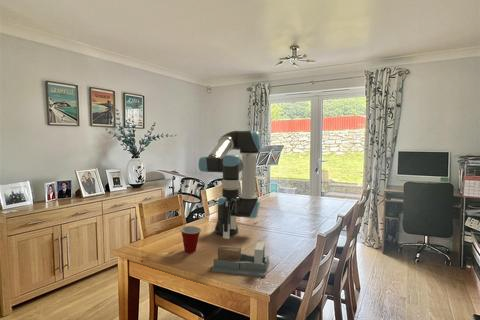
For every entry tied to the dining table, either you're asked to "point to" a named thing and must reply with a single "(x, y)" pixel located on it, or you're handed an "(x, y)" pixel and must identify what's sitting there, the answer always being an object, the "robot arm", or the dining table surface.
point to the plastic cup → (190, 238)
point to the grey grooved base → (245, 263)
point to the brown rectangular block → (229, 253)
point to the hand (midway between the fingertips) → (229, 233)
